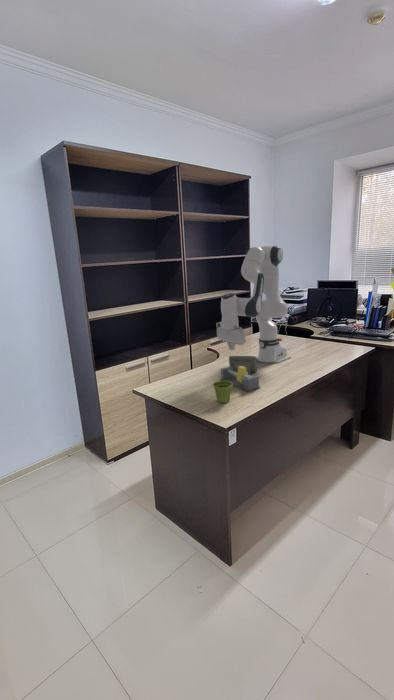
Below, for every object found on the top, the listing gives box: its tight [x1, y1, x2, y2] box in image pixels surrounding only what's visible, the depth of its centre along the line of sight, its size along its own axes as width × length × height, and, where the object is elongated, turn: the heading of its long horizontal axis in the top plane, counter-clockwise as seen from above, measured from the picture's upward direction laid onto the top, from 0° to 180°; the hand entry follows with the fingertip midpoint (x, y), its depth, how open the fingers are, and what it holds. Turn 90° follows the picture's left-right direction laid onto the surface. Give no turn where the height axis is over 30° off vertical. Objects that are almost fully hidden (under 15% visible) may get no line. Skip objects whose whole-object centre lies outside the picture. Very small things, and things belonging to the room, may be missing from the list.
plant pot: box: [212, 380, 233, 404], centre depth 166 cm, size 9×9×9 cm
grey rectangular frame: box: [219, 365, 261, 393], centre depth 186 cm, size 23×9×6 cm, turn 33°
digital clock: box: [228, 355, 258, 375], centre depth 203 cm, size 16×9×11 cm, turn 64°
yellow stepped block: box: [236, 366, 248, 382], centre depth 183 cm, size 4×4×7 cm
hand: (231, 349), depth 188 cm, fingers closed
